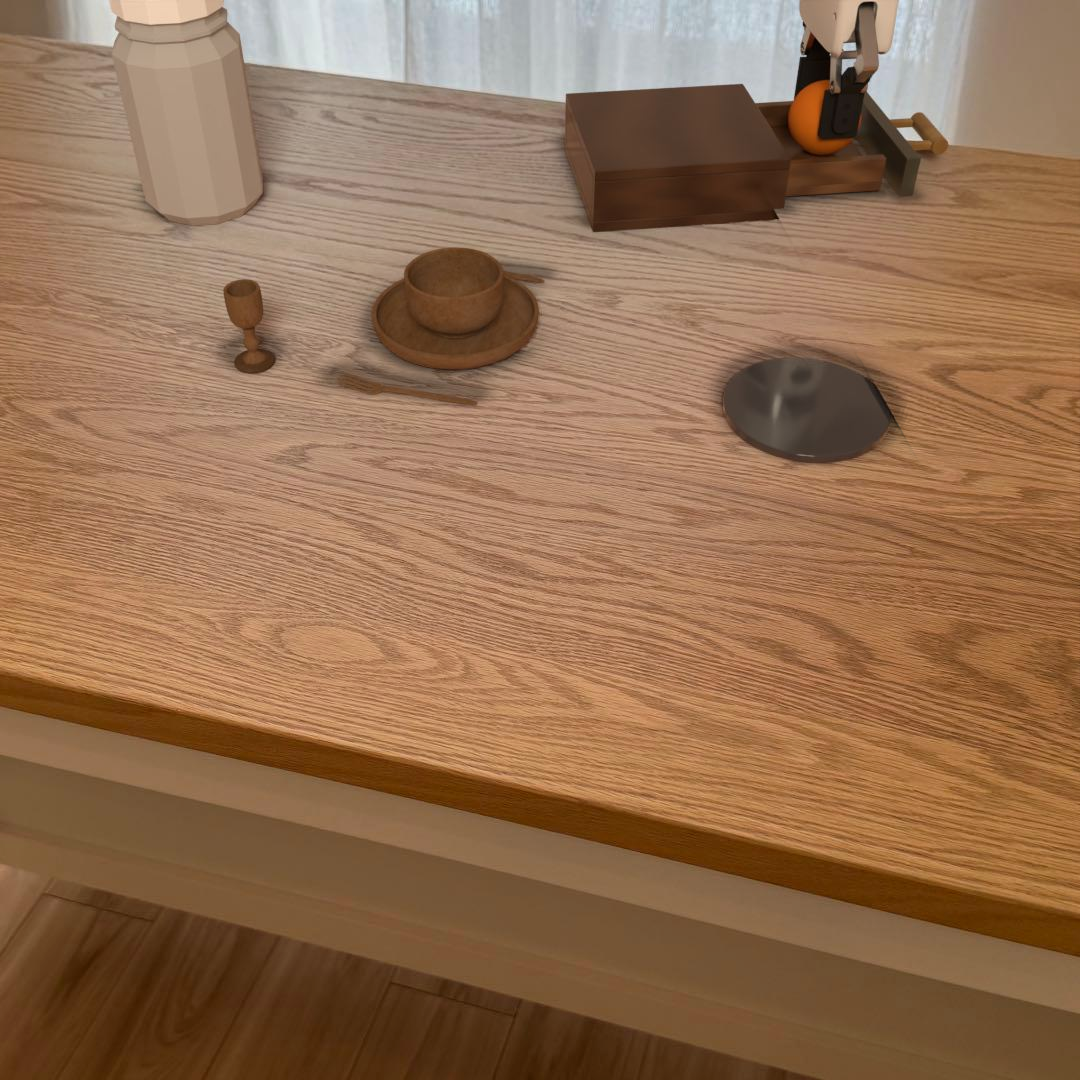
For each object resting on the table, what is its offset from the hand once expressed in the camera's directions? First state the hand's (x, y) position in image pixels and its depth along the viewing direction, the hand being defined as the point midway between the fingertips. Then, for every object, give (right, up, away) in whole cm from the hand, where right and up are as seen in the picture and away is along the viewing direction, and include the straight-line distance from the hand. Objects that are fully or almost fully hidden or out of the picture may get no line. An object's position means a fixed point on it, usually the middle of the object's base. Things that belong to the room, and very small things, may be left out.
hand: (824, 118), depth 104 cm
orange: (0, -2, +2) cm, 3 cm away
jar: (-52, -7, 0) cm, 52 cm away
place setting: (-34, -20, -14) cm, 42 cm away
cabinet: (-13, -5, +2) cm, 14 cm away
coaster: (-6, -27, -22) cm, 35 cm away
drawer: (+1, -3, +3) cm, 4 cm away
